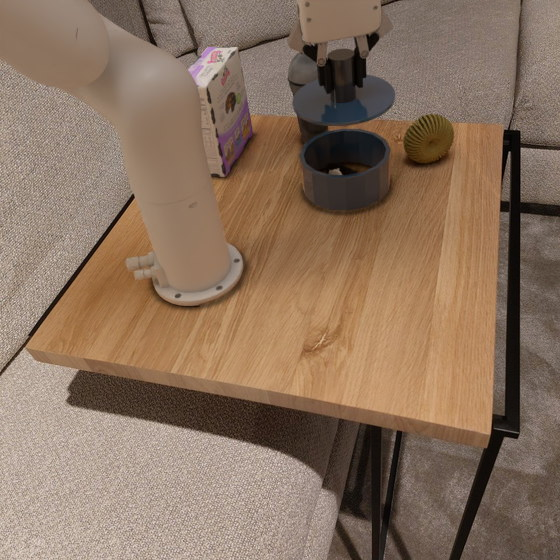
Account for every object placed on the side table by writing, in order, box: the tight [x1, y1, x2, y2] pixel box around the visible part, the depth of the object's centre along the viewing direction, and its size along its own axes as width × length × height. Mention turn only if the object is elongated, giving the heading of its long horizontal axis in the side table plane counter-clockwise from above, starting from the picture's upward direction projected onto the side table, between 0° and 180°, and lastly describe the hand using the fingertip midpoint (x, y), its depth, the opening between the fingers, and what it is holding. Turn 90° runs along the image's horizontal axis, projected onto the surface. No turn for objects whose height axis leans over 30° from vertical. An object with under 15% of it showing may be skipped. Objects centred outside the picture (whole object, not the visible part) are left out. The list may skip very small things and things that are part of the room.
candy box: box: [187, 46, 254, 178], centre depth 97 cm, size 14×6×16 cm, turn 162°
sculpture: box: [402, 113, 455, 164], centre depth 92 cm, size 8×4×8 cm, turn 101°
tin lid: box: [291, 48, 396, 127], centre depth 80 cm, size 14×14×7 cm
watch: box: [325, 163, 359, 175], centre depth 90 cm, size 8×5×4 cm, turn 34°
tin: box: [298, 128, 392, 212], centre depth 90 cm, size 13×13×6 cm
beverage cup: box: [287, 37, 329, 144], centre depth 97 cm, size 7×7×20 cm
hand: (342, 85), depth 80 cm, fingers closed on tin lid, 3 cm apart
